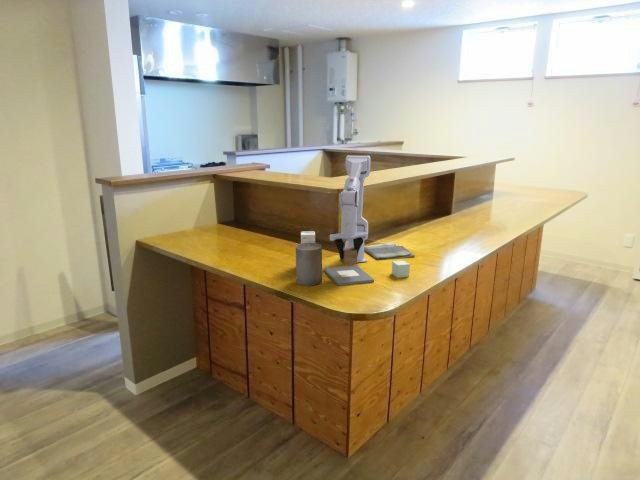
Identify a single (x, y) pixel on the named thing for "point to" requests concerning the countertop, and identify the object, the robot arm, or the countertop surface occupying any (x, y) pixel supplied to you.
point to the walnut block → (349, 256)
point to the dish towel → (388, 251)
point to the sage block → (400, 268)
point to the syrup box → (307, 237)
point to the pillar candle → (309, 264)
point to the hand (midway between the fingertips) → (348, 257)
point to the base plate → (348, 275)
